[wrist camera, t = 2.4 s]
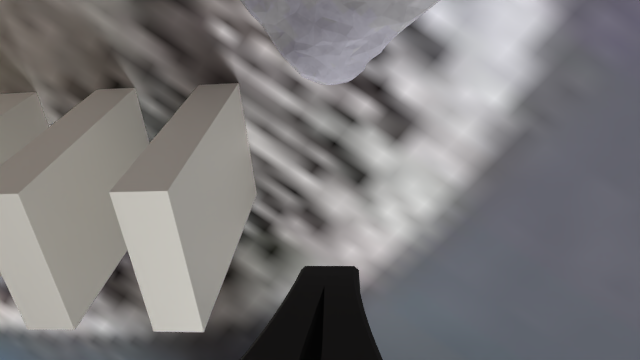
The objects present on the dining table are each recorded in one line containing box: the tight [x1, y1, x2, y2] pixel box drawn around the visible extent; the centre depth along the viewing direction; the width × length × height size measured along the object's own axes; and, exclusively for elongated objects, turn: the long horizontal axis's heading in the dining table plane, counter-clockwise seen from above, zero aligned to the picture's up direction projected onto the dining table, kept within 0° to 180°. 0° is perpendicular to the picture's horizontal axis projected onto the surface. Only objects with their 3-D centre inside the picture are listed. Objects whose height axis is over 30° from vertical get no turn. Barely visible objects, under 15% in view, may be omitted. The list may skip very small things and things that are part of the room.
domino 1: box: [109, 83, 257, 332], centre depth 19 cm, size 5×2×8 cm, turn 5°
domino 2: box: [0, 88, 150, 330], centre depth 19 cm, size 5×2×8 cm, turn 5°
